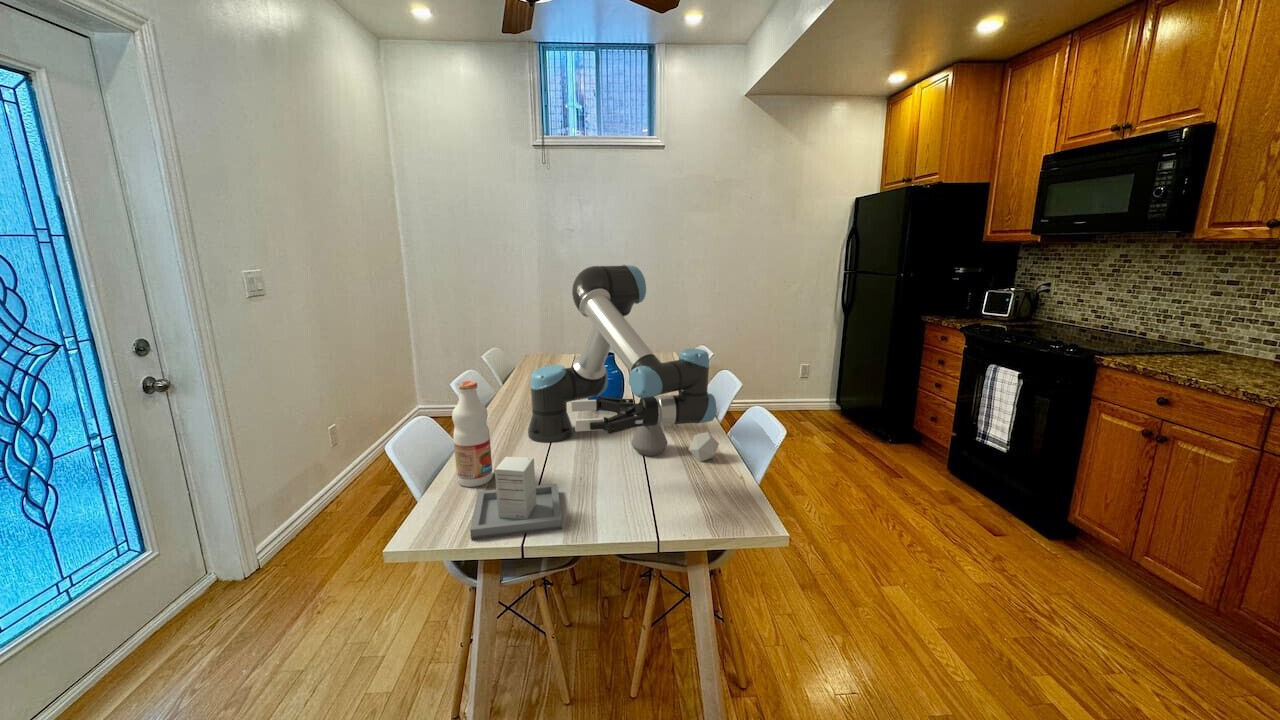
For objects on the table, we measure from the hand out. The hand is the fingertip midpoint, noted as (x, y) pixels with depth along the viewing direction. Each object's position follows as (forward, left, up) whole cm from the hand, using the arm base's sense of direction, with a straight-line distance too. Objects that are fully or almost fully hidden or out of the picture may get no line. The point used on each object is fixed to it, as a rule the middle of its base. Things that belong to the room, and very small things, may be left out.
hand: (573, 415), depth 124 cm
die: (-16, +40, -23) cm, 49 cm away
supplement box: (+5, -15, -22) cm, 27 cm away
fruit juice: (-16, -27, -23) cm, 38 cm away
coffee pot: (-21, +22, -23) cm, 38 cm away
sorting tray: (+5, -15, -22) cm, 27 cm away
